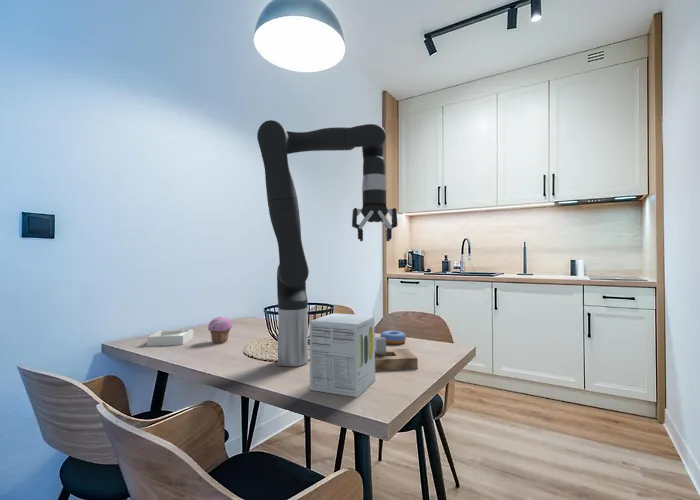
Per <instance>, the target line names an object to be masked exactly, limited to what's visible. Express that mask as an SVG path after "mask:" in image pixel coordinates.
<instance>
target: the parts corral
mask: <svg viewBox="0 0 700 500" xmlns="http://www.w3.org/2000/svg"><path fill="white" fill-rule="evenodd" d="M182 331H185V332H186V333H184V334H182V335H171V336H165V335H170V334H176V333H180V332H182ZM193 338H194V329H193V328H192V329H167V330H166V329H165V330H164V329H162V330H161V329H160V330H158V331H156V332H154V333H152V334H151V335H149V336H147V339H146V340H147V341H146V342H147V344H146V345H147V347H148V346H149V347H157V346H159V347H161V345H162V346H183V345H184V344H186V343H188V342H189V341H190V340H192V339H193Z"/></svg>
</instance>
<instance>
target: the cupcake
mask: <svg viewBox="0 0 700 500" xmlns="http://www.w3.org/2000/svg"><path fill="white" fill-rule="evenodd" d="M232 328H233V323H232V320H231V319H230V318H229V317H228V318H227V317H225V316H224V317H223V316H218V317H214V318H212V320H211V321H210V322H209V323H208V327H207V329H208V330H209V331H210V332H209V333H210V334H211V336H210V337H211V342H212V343H213V344H223V343H225V342H227V341H228V339H229V334H230V331H231V329H232Z"/></svg>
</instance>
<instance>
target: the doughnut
mask: <svg viewBox="0 0 700 500" xmlns="http://www.w3.org/2000/svg"><path fill="white" fill-rule="evenodd" d="M379 337H384V338H385V339H386V345H401V344H404V343H405V342H406V339H407V335H406V333H405V332H403V331H400V330H385V331H382V332H381V333H380V336H379Z"/></svg>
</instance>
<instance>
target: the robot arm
mask: <svg viewBox="0 0 700 500" xmlns="http://www.w3.org/2000/svg"><path fill="white" fill-rule="evenodd" d="M386 135H387V133H386V131H385V128H384V127H382V126H381V125H378V124H374V123H369V124H361V125H356V126H352V127H343V126H342V127H324V128H319V129H314V130H310V131H303V132H301V131H299V132H297V131H289V130H288V131H287V130H286V128H285V127H284V125H282V124H281V123H280V122H278V120H277V121H276V120H272V119H269V120H265V121H263V122H262V123H261V125H260V126H259V128H258V129H257V135H256V136H257V137H256V139H257V143H258V145H259V150H260V153H261V157H262V162H263V163H262V164H263V167H264V174H265V175H264V177H265V179H264V181H265V190H266V197H267V198H266V200H267V201H266V202H267V207H268V214H269V218H270V221H271V226H272V229H273V232H274V235H275V237H276V243H277V246H278V258H279V259H278V260H279V261H278V262H279V263H278V266H277V268H276V269H277V270H276V282H277V283H276V285H277V286H276V288H277V293H276V294H277V309H278V311H277V313H278V314H277V316H278V317H277V318H278V329H277V330H278V334H277V366H283V367H301V366H304V365H307V364H308V363H309V329H308V328H309V327H308V326H309V325H308V324H309V323H308V318H309V317H308V316H309V315H308V313H309V311H308V304H309V303H308V297H307V285H306V284H307V280H308V277H309V273H310V271H309V265H308V262H307V258H306V255H305V254H306V253H305V251H304V250H305V249H304V245H303V241H302V231H301V229H302V228H301V217H300V209H299V202H298V195H297V190H296V188H295V184H294V180H293V176H292V174H291V171H290V170H291V169H290V166H289V161H288V160H289V158H288V155H289V154H294V153H295V154H296V153H297V154H298V153H302V152H319V151H320V152H322V151H352V150H353V149H355V148H360V147H361V150H362V151H361V152H362V158H363V159H362V160H363V161H362V162H363V163H362V182H361V183H362V185H361V191H362V192H361V193H362V198H361V199H362V207H361V208H357V207H354V208H353V209H352V216H351V217H352V219H351V227H352V228H354V229H357V239H358V240H359V242H363V241H364V229H363V227H364V226H365V225H366V223H367V222H368V223H382V225H384V227H385V228H386V230H385V240H386V242H391V241H390V240H392V239H393V238H392V232H393V231H392V230H393V229H394V228H397V227H398V215H397V214H398V213H397V208H395V207H393V208H388V207H387V181H386V164H385V158H384V143H385V141H386V138H387V136H386ZM360 213H361V214H362V217H363V219H362V220H361V221H360V223H359V224H358V223H357V222H358V216H359V215H360ZM387 214H389V216H391V223H390V221H389V220H388V219H387V217H386V216H387Z"/></svg>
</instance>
